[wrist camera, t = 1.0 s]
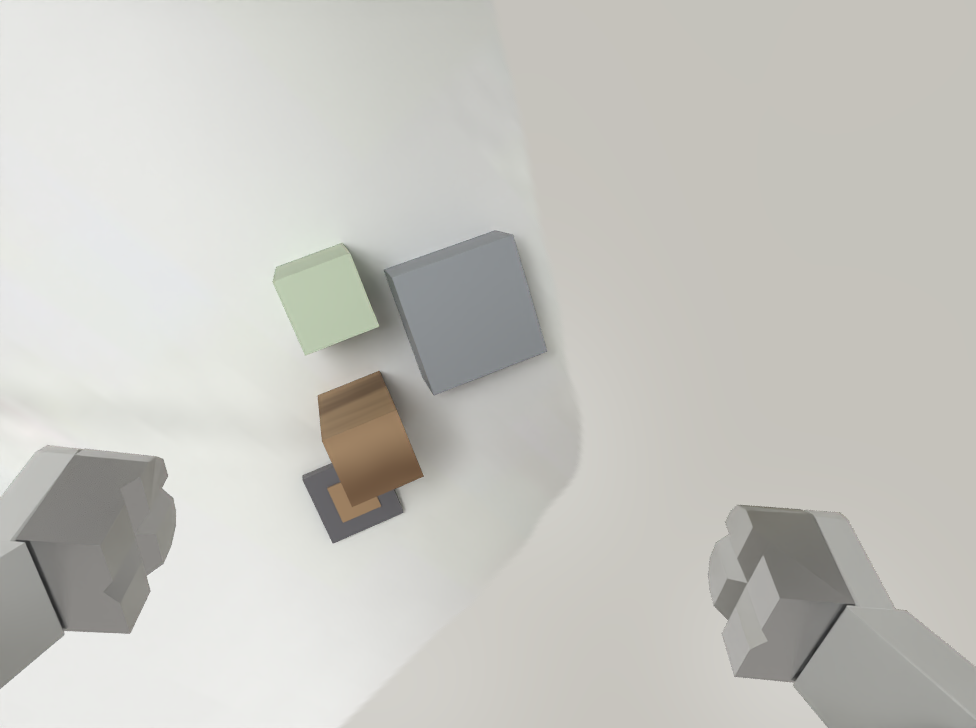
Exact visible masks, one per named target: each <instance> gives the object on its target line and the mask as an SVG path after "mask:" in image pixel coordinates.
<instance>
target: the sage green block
mask: <svg viewBox="0 0 976 728" xmlns="http://www.w3.org/2000/svg"><path fill="white" fill-rule="evenodd" d="M273 284H274V286H275V289H276V291H277V293H278V295H279V298H280V300H281V302H282V304H283V307H284V309H285V311H286V314H287V316H288V318H289V320H290V323H291V325H292V327H293V329H294V332H295V334H296V336H297V338H298V341H299V343H300V345H301V347H302V350H303V352H304V354H305V356H306V355H308V354H311V353H313V352H316V351H318V350H321V349H323V348H326V347H328V346H331V345H334V344H336V343H339V342H341V341H344V340H346V339H349V338H351V337H354V336H357V335H359V334H362V333H364V332H367V331H369V330H372V329H374V328H377V327H379V324H378V322H377V319H376V317H375V314H374V312H373V309H372V307H371V304H370V302H369V299H368V297H367V294H366V292H365V289H364V287H363V284H362V282H361V279H360V277H359V274H358V272H357V269H356V267H355V264H354V262H353V259H352V257H351V254H350V252H349V251H348V250H347V248H346V247H345V246H344V244H343V243H340V244H337V245H335V246H332V247H329V248H327V249H324V250H321V251H318V252H316V253H313V254H310V255H308V256H305V257H302V258H300V259H297V260H294V261H291V262H289V263H286V264H283V265H281V266H278V267H276V269H275V274H274V278H273Z"/></svg>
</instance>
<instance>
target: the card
mask: <svg viewBox="0 0 976 728" xmlns="http://www.w3.org/2000/svg"><path fill="white" fill-rule="evenodd" d="M303 482H304V484H305V486H306V488H307V490H308V492H309V494H310V496H311V498H312V501H313V503H314V505H315V507H316V509H317V511H318V513H319V515H320V517H321V520H322V522H323V524H324V526H325V528H326V530H327V532H328V534H329V536H330V539H331V541H332V543H335V542H338V541H340V540H342V539H344V538H347V537H349V536H351V535H354V534H356V533H358V532H360V531H363V530H365V529H367V528H370V527H372V526H374V525H376V524H379V523H381V522H383V521H386V520H388V519H390V518H392V517H395V516H397V515H399V514H401V513H404V512H403V509H402V507H401V504H400V502H399V500H398V497H397V495H396V493H395V490H394V489H393V490H391V491H389V492H386V493H384V494H382V495H379V496H377V497H375V498H373V499H370V500H368V501H366V502H363V503H361V504H359V505H356V506H354V507H352V506H351V504H350V502H349V499H348V497H347V495H346V493H345V491H344V488H343V486H342V484H341V482H340V480H339V477H338V475H337V473H336V471H335V469H334V466H333V464H332V463H331V464H329V465H327V466H324V467H322V468H319V469H317V470H315V471H312V472H310V473H308V474H305V475H303Z"/></svg>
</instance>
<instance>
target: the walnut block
mask: <svg viewBox="0 0 976 728" xmlns="http://www.w3.org/2000/svg"><path fill="white" fill-rule="evenodd" d="M318 405H319V415H320V426H321V436H322V442H323V444H324V446H325V449H326V451H327V453H328V455H329V458H330V460H331V462H332V464H333V466H334V469H335V471H336V473H337V475H338V477H339V480H340V482H341V484H342V486H343V488H344V491H345V493H346V495H347V497H348V499H349V502H350V504H351V506H352V507H354V506H356V505H359V504H361V503H363V502H366V501H368V500H370V499H373V498H375V497H377V496H379V495H382V494H384V493H386V492H389V491H391V490H393V489H396V488H398V487H400V486H403V485H405V484H407V483H410V482H412V481H414V480H417V479H419V478H421V477H424V476H423V473H422V471H421V468H420V466H419V463H418V461H417V458H416V456H415V454H414V451H413V449H412V446H411V444H410V441H409V439H408V436H407V434H406V432H405V429H404V427H403V424H402V422H401V419H400V417H399V414H398V412H397V410H396V407H395V405H394V403H393V400H392V398H391V396H390V394H389V391H388V389H387V387H386V385H385V382H384V380H383V378H382V375H381V373H380V371H378V372H375V373H373V374H370V375H368V376H365V377H363V378H360V379H358V380H355V381H353V382H350V383H348V384H345V385H343V386H340V387H338V388H335V389H333V390H330V391H328V392H325V393H323V394H320V395H318Z"/></svg>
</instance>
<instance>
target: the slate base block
mask: <svg viewBox="0 0 976 728" xmlns="http://www.w3.org/2000/svg"><path fill="white" fill-rule="evenodd" d="M384 272H385V275H386V277H387V280H388V283H389V286H390V289H391V291H392V294H393V297H394V300H395V302H396V305H397V308H398V311H399V314H400V316H401V319H402V322H403V325H404V327H405V330H406V333H407V336H408V339H409V341H410V344H411V347H412V350H413V353H414V355H415V358H416V361H417V364H418V366H419V369H420V372H421V375H422V378H423V379H424V381H425V382H426V384H427V386H428V387H429V389H430V390H431V392H432V393H433V395H436V394H439V393H442V392H444V391H447V390H449V389H452V388H454V387H457V386H460V385H462V384H465V383H467V382H470V381H473V380H475V379H478V378H480V377H483V376H485V375H488V374H491V373H493V372H496V371H498V370H501V369H504V368H506V367H509V366H511V365H514V364H516V363H519V362H522V361H524V360H527V359H529V358H532V357H534V356H537V355H540V354H542V353H545V352H547V349H546V345H545V342H544V339H543V335H542V332H541V328H540V325H539V322H538V318H537V315H536V311H535V308H534V305H533V301H532V298H531V294H530V291H529V288H528V284H527V281H526V277H525V274H524V270H523V267H522V264H521V260H520V257H519V253H518V250H517V247H516V243H515V240H514V236H513V235H512V234H507V233H503V232H499V231H492V232H489V233H487V234H484V235H481V236H478V237H475V238H472V239H470V240H467V241H464V242H461V243H458V244H455V245H453V246H450V247H447V248H444V249H441V250H438V251H436V252H433V253H430V254H427V255H424V256H421V257H419V258H416V259H413V260H410V261H407V262H404V263H401V264H399V265H396V266H393V267H390V268H387V269H384Z"/></svg>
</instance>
